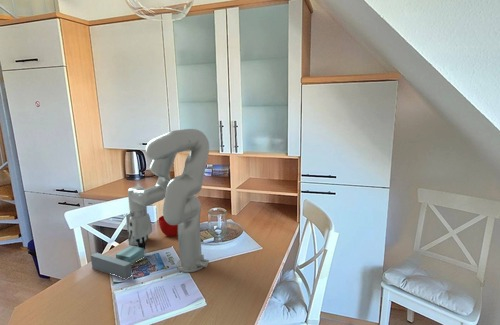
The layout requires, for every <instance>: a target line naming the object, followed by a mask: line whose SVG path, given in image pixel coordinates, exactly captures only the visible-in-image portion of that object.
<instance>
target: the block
mask: <svg viewBox="0 0 500 325" xmlns="http://www.w3.org/2000/svg"><path fill="white" fill-rule="evenodd" d="M143 257H145V250H144V248H140V247H138V246H136V245H129V246H128V247H126V248H124V249H123V250H121V251H119V252H118V253H115V258H116V259H120V260H123V261H126V262H130V263H131V264H133V263H134V262H136V261H137V260H139V259H141V258H143ZM143 259H144V258H143Z"/></svg>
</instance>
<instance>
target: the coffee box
mask: <svg viewBox="0 0 500 325" xmlns="http://www.w3.org/2000/svg"><path fill="white" fill-rule="evenodd" d="M125 217H126V219H125V220H126V231H127V238H128V240H127V241H128V245H129V246H138V242H131V238H130V235H129V218H130V217H129V216H128V214H126V215H125ZM148 239H149V235H148V236H147V238H146V241H147V240H148Z"/></svg>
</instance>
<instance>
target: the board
mask: <svg viewBox="0 0 500 325" xmlns="http://www.w3.org/2000/svg"><path fill="white" fill-rule="evenodd" d="M90 259H91V260H90V261H91V262H90V263H91V268H92V269H93V270H96V271H99V272H102V273H105V274H109V275H111V274H115V275H117V276H120V277H122V278H125V279H127V278H128V277H130V276H131V275H132V276H133V270H132V266H131V263H130V262H126V261H123V260H120V259H116V257H112V256H111V255H106V254H103V253H100V252H95V253H93V254H91V255H90ZM110 273H111V274H110ZM122 278H121V279H122ZM130 278H131V277H130ZM125 279H124V280H125ZM127 280H128V279H127Z"/></svg>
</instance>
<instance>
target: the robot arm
mask: <svg viewBox="0 0 500 325" xmlns="http://www.w3.org/2000/svg"><path fill="white" fill-rule="evenodd" d="M188 151H189V153H188V156H187V157H186V159H185V161H184V166H183V172H182V173H181V175H177V176H175V177H173V178H172V179H171V175H170V172H171V170H172V166H173V163H174V162H175V159H176V156H177V154H178V153H182V152H188ZM145 153H146V156H147V157H148V158H149V159H150V160H151V162H150V165H149V171H150V172H151V173H152V174H153V175H155V176H156V177H158V178H157V181H156V183H155V185H153V186H150V187H148V188H145V187H143V186H137V185H136V186H132V187H130V188H128V190H127V197H128V207H129V208H128V209H129V213H128V214H127V215H128V216H129V217H130V218H129V235H130V238H131V242H138V245H137V247H140V248H144V251H145V250H146V248H147V247H146V241H147V240H146V238H147V236H148V237H149V236H150V235H151V234H152V233H153V226H152V220H151V216H150V214H149V213H148V206H150V205H154V204H155V203H158V202H160V201H164V202H163V207H162V214H163V215H162V216H163V217H164V219H165V221H166V222H167V223H168V224H170V225H178V235H177V239H178V241H177V242H178V251H179V252H178V253H179V260H178V261H177V263H176V270H178V271H180V272H182V273H193V272H194V273H195V272H197V271H200V270H202V269H203V268H207V267H208V264H209V260H208V259H205V256H204V254H203V252H202V240H201V238H202V237H201V211H202V204H201V201H200V199H199V198H198V197H197V196H196V195H197V194H198V193H200V191H201V190H202V187H203V182H204V177H205V172H206V166H207V163H208V160H209V159H208V158H209V155H210V142H209V139H208V137H207V135H206V134H205V133H204V132H203V131H201V130H199V129H197V128H187V129H186V128H184V129H177V130H171V131H169V132H166V133H164V134H162V135H159V136H157V137H155V138H152V139H151V140H150V141H148V142H147V144H146V146H145Z"/></svg>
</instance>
